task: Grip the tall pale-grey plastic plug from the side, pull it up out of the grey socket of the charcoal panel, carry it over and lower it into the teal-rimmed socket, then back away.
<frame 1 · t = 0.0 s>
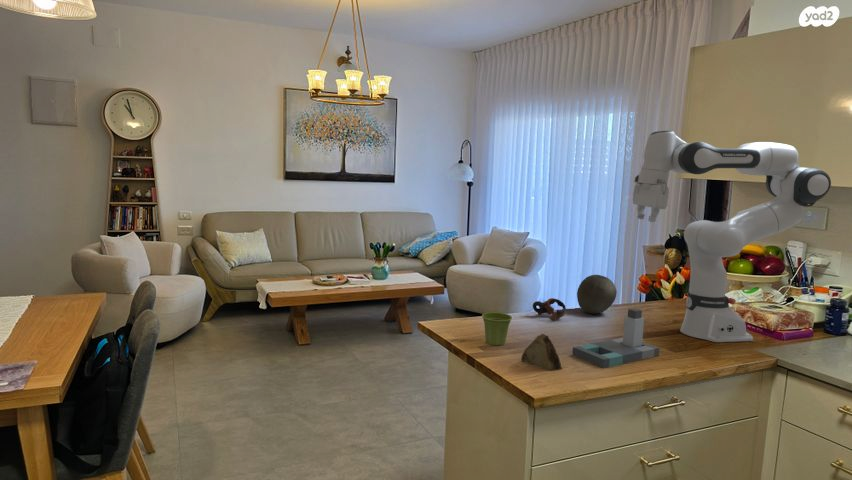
hand: (645, 220, 190), 39 cm above the counter, tool pointing down, fingers open, 8 cm apart
plug: (631, 352, 173), resting in panel
panel: (615, 355, 170), on the counter
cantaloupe: (594, 313, 219), on the counter
plant pot: (495, 343, 178), on the counter
rock: (540, 365, 159), on the counter
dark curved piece: (548, 318, 210), on the counter
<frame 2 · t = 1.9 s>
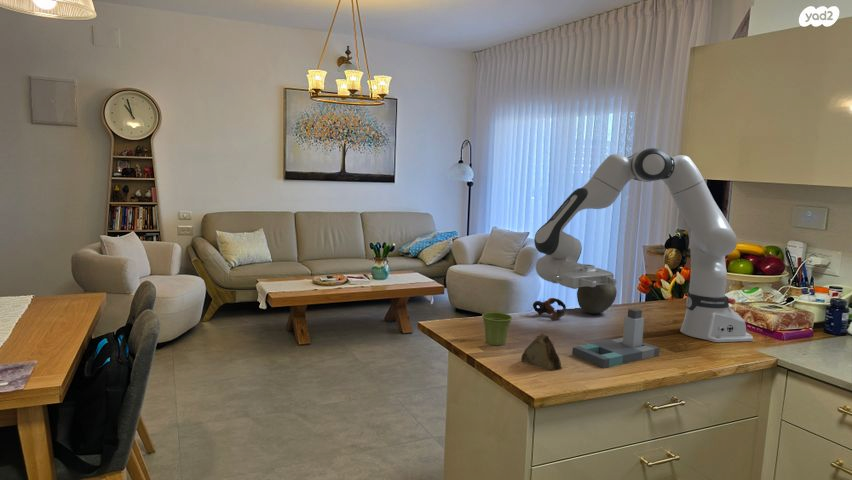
hand: (604, 283, 181), 19 cm above the counter, tool horizontal, fingers open, 8 cm apart
nothing on the counter moved.
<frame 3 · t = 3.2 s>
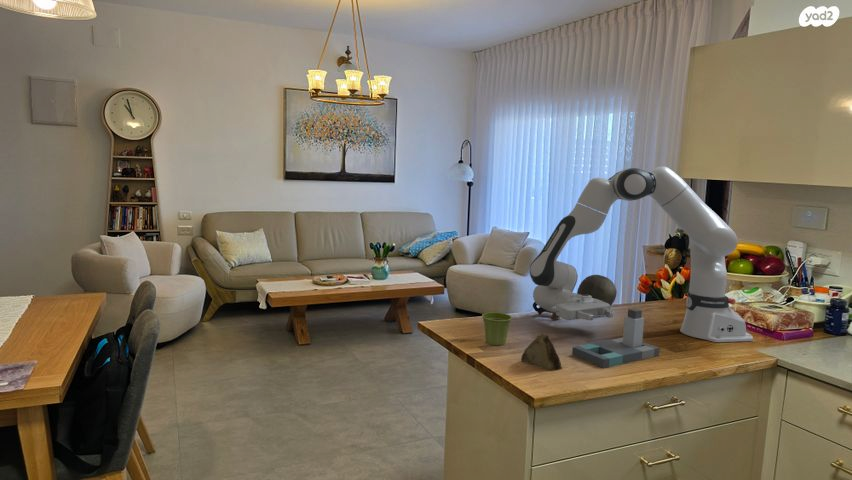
hand: (601, 316, 182), 8 cm above the counter, tool horizontal, fingers open, 8 cm apart
nothing on the counter moved.
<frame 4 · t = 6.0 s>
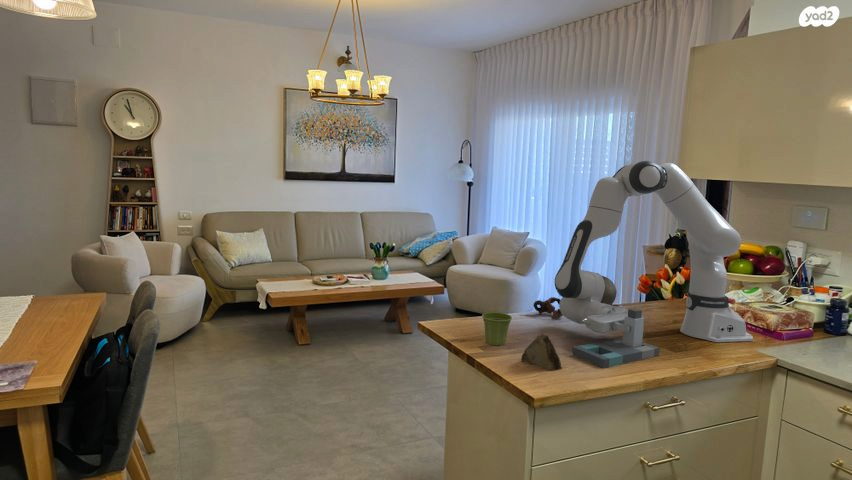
hand: (636, 328, 172), 8 cm above the counter, tool horizontal, fingers closed on plug, 4 cm apart
plug: (631, 352, 173), resting in panel, touching gripper
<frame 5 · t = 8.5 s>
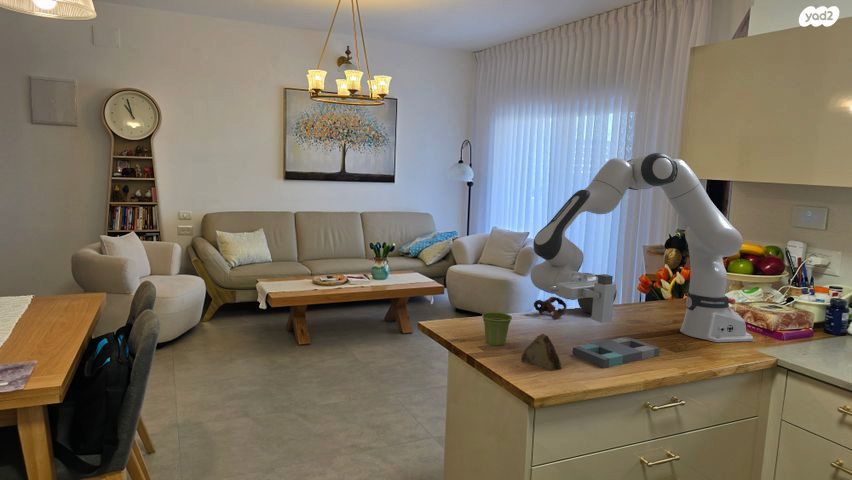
hand: (606, 294, 163), 19 cm above the counter, tool horizontal, fingers closed on plug, 4 cm apart
plug: (601, 320, 165), point 12 cm above the counter, touching gripper
when the fingers open (9 cm above the counter, at t = 11.3 s): plug drops 1 cm, resting in panel.
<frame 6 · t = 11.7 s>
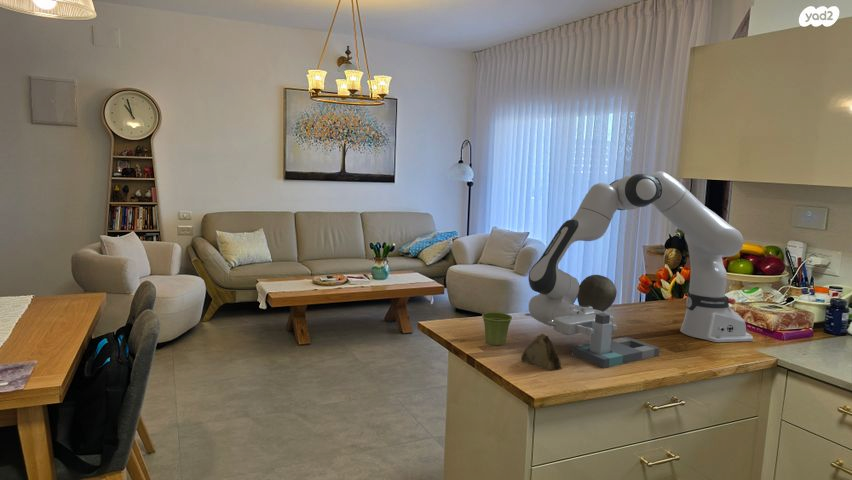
hand: (603, 330, 164), 9 cm above the counter, tool horizontal, fingers open, 8 cm apart
plug: (599, 358, 166), resting in panel
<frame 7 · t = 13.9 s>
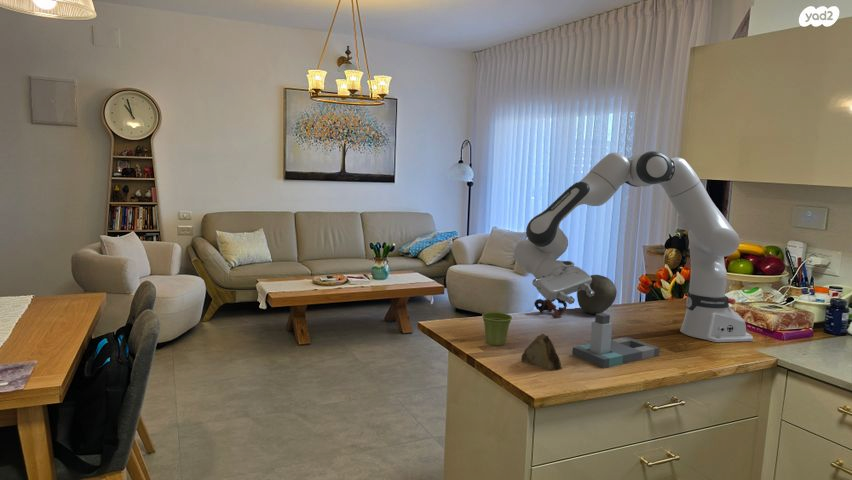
hand: (582, 298, 177), 15 cm above the counter, tool tilted 65°, fingers open, 8 cm apart
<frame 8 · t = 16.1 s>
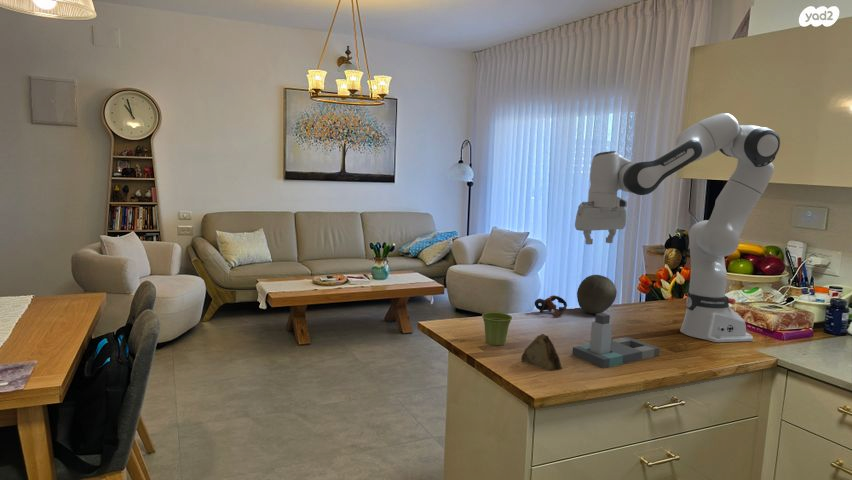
hand: (599, 243, 185), 31 cm above the counter, tool pointing down, fingers open, 8 cm apart
at the end: plug 0.1 cm from the target spot, resting in panel; plug tilted 0°; the gripper is holding nothing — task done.
